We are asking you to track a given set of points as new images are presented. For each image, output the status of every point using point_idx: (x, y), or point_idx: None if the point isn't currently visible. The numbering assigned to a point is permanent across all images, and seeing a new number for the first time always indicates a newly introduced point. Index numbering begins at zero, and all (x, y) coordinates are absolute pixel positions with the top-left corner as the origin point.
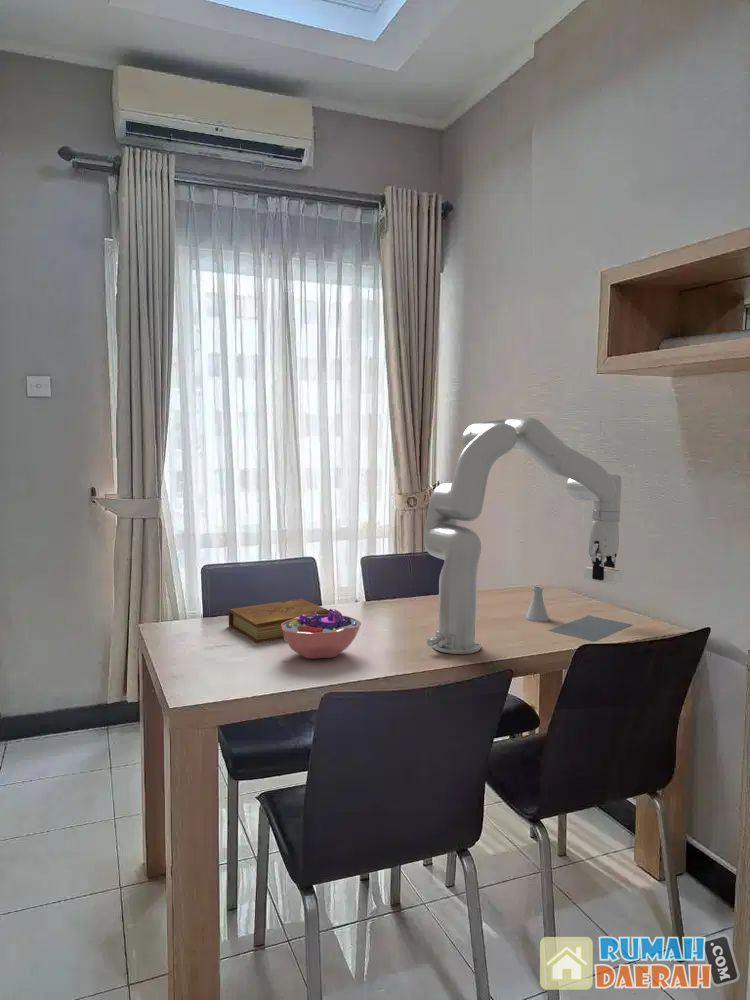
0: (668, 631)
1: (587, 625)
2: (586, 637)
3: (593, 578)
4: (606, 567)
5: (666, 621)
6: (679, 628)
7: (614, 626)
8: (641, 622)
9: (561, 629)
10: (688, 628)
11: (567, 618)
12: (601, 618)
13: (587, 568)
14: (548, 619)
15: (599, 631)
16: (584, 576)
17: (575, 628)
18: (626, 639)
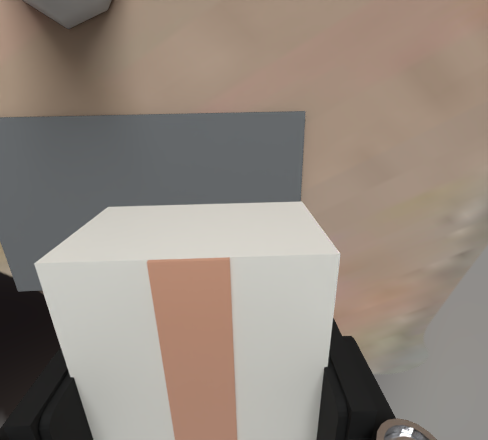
0: None
1: (159, 187)
2: (30, 257)
3: None
4: (283, 407)
5: (427, 313)
6: (369, 360)
7: None
8: (364, 273)
9: (22, 149)
10: (385, 372)
11: (213, 54)
12: (295, 172)
13: (49, 300)
14: (96, 11)
15: None
16: (97, 219)
17: (84, 178)
18: None
